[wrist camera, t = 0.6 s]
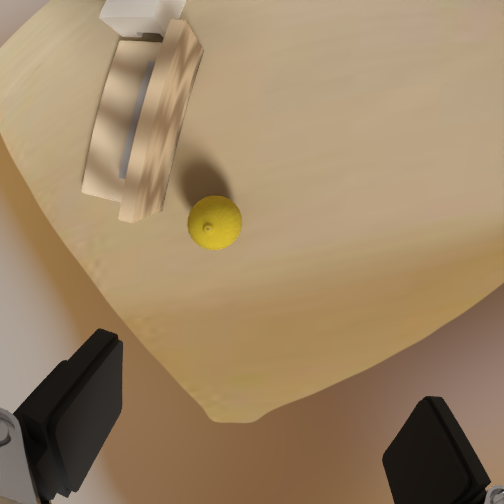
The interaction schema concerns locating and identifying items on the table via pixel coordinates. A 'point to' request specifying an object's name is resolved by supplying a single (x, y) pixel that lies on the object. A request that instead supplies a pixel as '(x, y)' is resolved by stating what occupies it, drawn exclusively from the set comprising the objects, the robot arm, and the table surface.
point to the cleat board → (142, 121)
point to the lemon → (214, 222)
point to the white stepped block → (140, 16)
